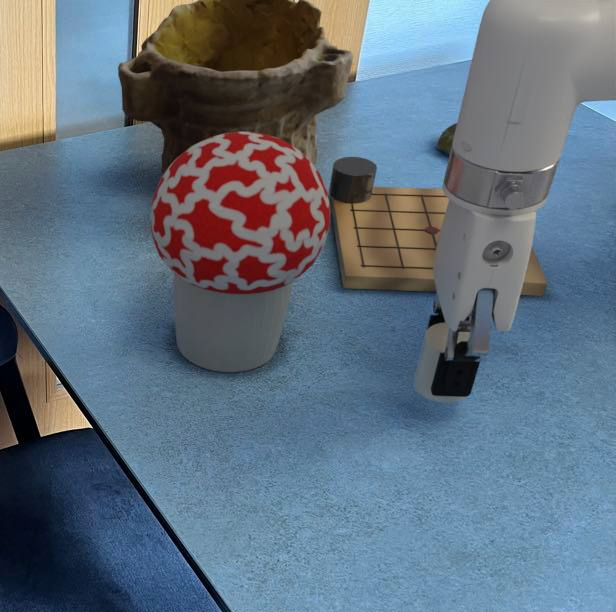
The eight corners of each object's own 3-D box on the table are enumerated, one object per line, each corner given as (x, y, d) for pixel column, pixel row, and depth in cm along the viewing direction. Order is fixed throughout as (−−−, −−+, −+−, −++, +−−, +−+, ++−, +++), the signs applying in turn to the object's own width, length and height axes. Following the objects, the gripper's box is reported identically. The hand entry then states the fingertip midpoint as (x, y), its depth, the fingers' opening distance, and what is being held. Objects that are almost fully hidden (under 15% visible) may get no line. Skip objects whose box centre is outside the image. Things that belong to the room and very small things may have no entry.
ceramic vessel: (216, 217, 100) (143, -48, 96) (127, 267, 123) (66, 54, 119) (407, 165, 106) (346, -86, 103) (289, 222, 129) (235, 19, 126)
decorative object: (117, 324, 102) (120, 123, 88) (251, 286, 107) (275, 90, 93) (196, 410, 92) (214, 200, 78) (341, 365, 97) (382, 158, 82)
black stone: (369, 184, 119) (374, 157, 117) (373, 203, 116) (379, 176, 113) (327, 182, 119) (331, 156, 117) (330, 202, 116) (334, 175, 114)
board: (505, 202, 119) (509, 189, 117) (543, 296, 104) (548, 282, 103) (328, 197, 120) (331, 184, 119) (343, 288, 106) (345, 274, 105)
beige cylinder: (465, 370, 91) (479, 322, 88) (474, 404, 88) (489, 355, 84) (409, 368, 92) (421, 321, 88) (416, 402, 88) (429, 353, 85)
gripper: (579, 232, 70) (508, 439, 83) (528, 124, 82) (472, 320, 95) (465, 230, 71) (412, 435, 83) (430, 123, 82) (389, 318, 95)
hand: (445, 372), depth 89 cm, fingers closed on beige cylinder, 4 cm apart
